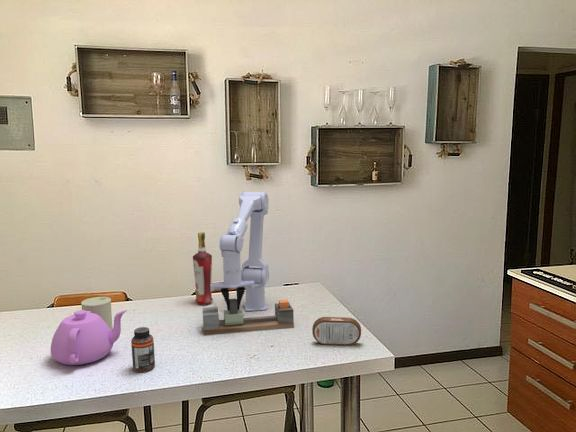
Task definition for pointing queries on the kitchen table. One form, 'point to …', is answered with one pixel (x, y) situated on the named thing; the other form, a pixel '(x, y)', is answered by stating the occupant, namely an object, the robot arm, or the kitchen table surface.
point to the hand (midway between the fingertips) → (233, 309)
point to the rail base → (247, 321)
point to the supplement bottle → (142, 350)
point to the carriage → (233, 314)
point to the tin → (336, 331)
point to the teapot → (84, 338)
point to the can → (99, 308)
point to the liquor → (202, 272)
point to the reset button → (283, 304)
